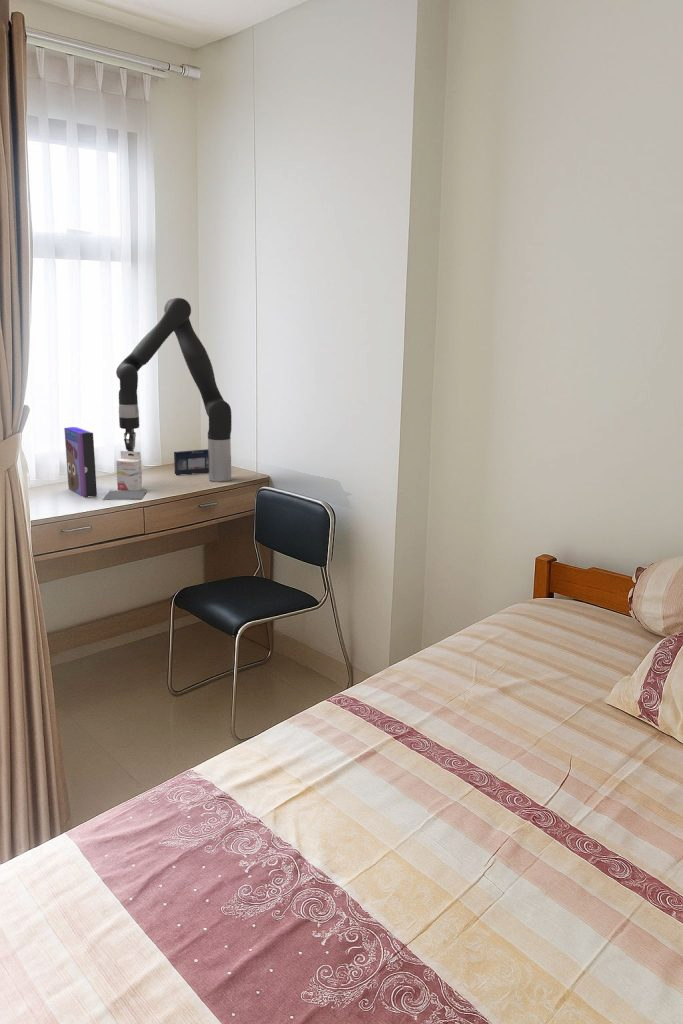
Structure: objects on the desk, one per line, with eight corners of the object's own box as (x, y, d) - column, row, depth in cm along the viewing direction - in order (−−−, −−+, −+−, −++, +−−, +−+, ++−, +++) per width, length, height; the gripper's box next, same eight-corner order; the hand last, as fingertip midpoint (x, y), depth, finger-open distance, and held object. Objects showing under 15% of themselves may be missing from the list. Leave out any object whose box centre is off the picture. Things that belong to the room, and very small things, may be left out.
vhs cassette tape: (176, 475, 330) (175, 452, 328) (174, 474, 333) (173, 451, 330) (217, 472, 339) (216, 449, 337) (214, 471, 342) (214, 448, 339)
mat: (147, 491, 301) (146, 490, 301) (141, 499, 287) (141, 498, 287) (109, 491, 299) (109, 490, 299) (102, 500, 286) (102, 498, 286)
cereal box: (68, 488, 302) (64, 427, 296) (80, 487, 305) (76, 426, 299) (84, 497, 289) (80, 433, 283) (97, 495, 292) (93, 432, 286)
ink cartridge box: (117, 490, 302) (115, 452, 298) (121, 487, 307) (119, 450, 303) (138, 491, 301) (136, 453, 297) (143, 488, 306) (141, 451, 302)
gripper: (136, 418, 297) (138, 462, 301) (141, 413, 310) (143, 456, 314) (116, 417, 296) (118, 462, 301) (122, 413, 309) (124, 456, 313)
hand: (131, 459), depth 307 cm, fingers closed
